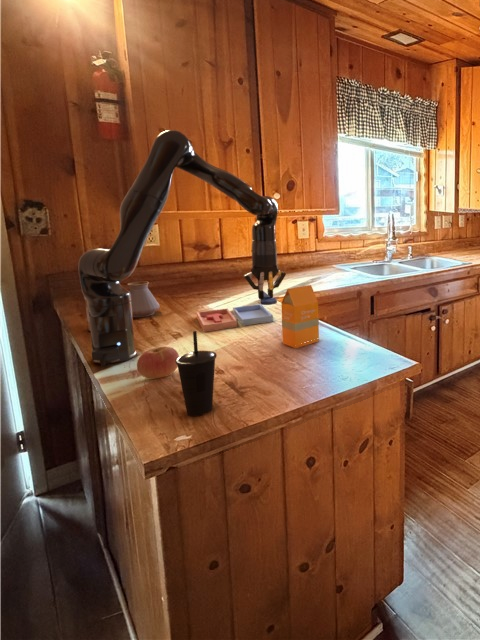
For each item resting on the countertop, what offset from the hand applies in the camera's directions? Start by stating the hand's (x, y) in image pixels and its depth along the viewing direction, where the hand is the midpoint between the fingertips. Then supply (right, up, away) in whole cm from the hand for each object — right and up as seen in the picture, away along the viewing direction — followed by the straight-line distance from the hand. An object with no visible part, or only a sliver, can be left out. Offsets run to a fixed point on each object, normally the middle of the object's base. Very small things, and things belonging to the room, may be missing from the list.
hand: (265, 299), depth 147 cm
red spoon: (-26, -10, +11) cm, 30 cm away
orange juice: (+15, -15, -4) cm, 21 cm away
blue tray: (-17, -9, +19) cm, 27 cm away
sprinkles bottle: (-59, -10, -2) cm, 60 cm away
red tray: (-26, -10, +11) cm, 30 cm away
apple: (-9, -18, -33) cm, 39 cm away
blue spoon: (0, 0, 0) cm, 0 cm away
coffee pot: (-63, -8, +12) cm, 64 cm away
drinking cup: (+14, -22, -49) cm, 56 cm away
